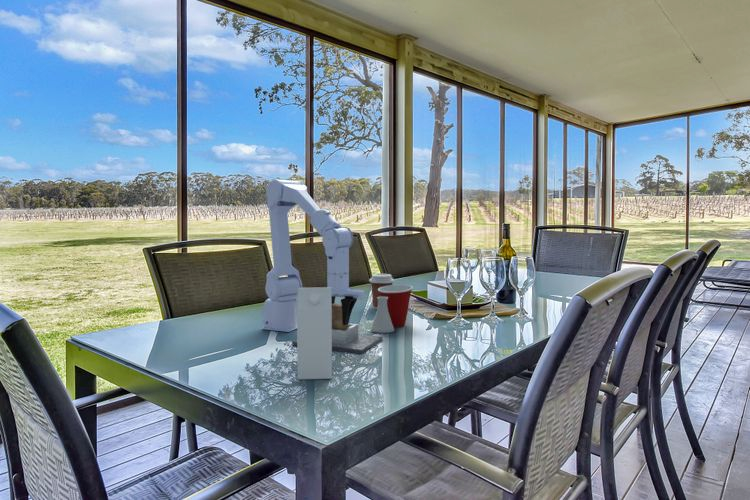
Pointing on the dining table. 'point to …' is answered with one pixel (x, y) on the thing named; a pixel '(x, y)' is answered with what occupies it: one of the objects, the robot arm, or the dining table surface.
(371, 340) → the post socket base
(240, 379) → the dining table surface
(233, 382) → the dining table surface
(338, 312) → the walnut rail post
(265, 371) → the dining table surface
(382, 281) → the coffee cup
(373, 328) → the flask
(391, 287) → the plastic cup
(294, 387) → the dining table surface
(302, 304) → the milk carton
